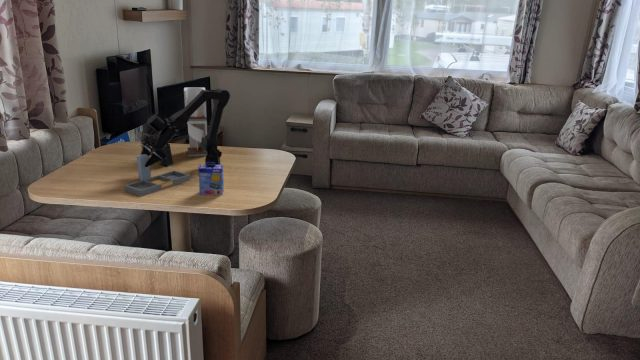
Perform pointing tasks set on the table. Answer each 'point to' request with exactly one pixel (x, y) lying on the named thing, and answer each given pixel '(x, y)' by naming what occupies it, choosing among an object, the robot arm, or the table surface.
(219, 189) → the ink cartridge box
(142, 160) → the panel block
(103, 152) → the table surface
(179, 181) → the rack
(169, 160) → the speaker
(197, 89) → the display case
